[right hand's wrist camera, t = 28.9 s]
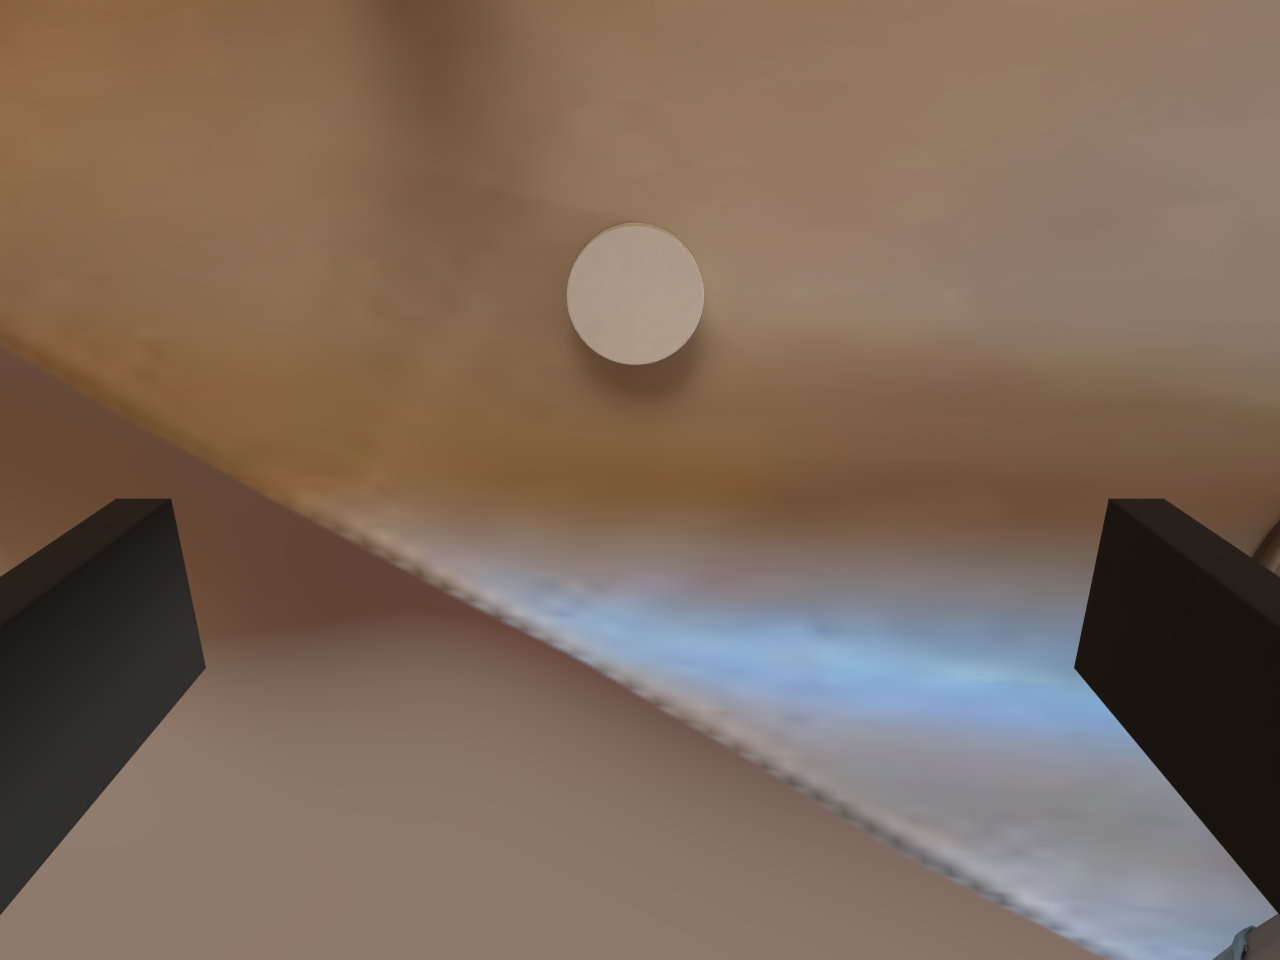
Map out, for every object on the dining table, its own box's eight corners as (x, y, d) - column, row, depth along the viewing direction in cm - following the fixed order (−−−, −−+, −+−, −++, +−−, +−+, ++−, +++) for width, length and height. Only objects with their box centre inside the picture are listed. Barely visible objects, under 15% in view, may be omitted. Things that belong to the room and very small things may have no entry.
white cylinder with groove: (580, 362, 38) (577, 373, 36) (560, 231, 36) (555, 236, 34) (707, 345, 38) (710, 356, 36) (693, 213, 36) (696, 217, 34)
